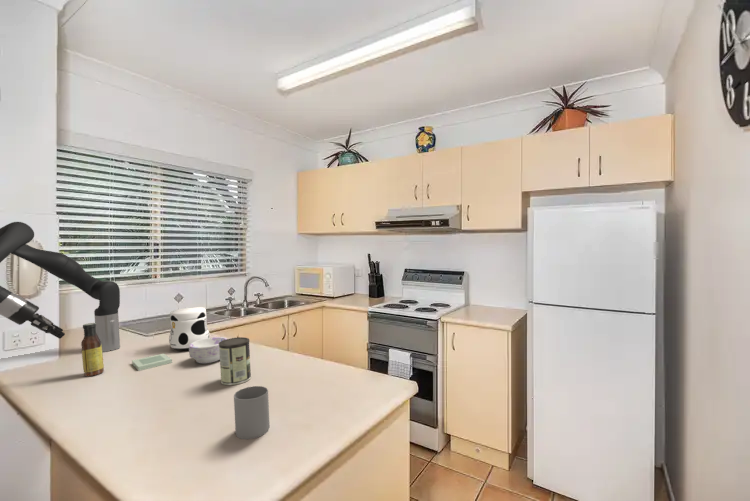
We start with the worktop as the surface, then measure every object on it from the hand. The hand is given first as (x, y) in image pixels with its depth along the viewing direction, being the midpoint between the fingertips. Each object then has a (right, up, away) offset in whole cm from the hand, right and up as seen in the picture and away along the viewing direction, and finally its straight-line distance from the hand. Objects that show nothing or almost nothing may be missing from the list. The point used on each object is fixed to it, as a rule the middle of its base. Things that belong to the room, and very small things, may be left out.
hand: (61, 334), depth 133 cm
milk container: (+27, -16, +40) cm, 51 cm away
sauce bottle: (+6, -17, +7) cm, 20 cm away
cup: (+85, -16, -39) cm, 95 cm away
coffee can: (+66, -16, -4) cm, 68 cm away
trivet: (+23, -16, +17) cm, 33 cm away
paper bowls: (+46, -16, +19) cm, 52 cm away
